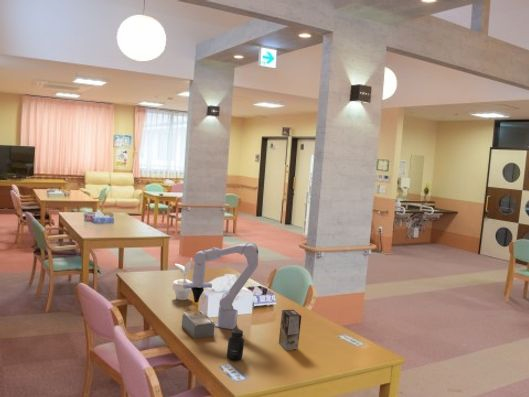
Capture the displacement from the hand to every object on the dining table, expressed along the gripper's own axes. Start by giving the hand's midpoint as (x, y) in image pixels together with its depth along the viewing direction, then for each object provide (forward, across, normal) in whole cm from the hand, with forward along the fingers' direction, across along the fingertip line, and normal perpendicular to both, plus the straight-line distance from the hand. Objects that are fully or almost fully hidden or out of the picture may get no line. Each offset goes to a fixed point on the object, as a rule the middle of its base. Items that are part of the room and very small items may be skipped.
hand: (196, 301), depth 246 cm
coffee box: (+10, +32, -39) cm, 51 cm away
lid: (+4, -2, -16) cm, 17 cm away
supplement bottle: (+10, +2, -45) cm, 46 cm away
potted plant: (+11, +5, +38) cm, 39 cm away
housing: (+10, -2, -12) cm, 16 cm away
